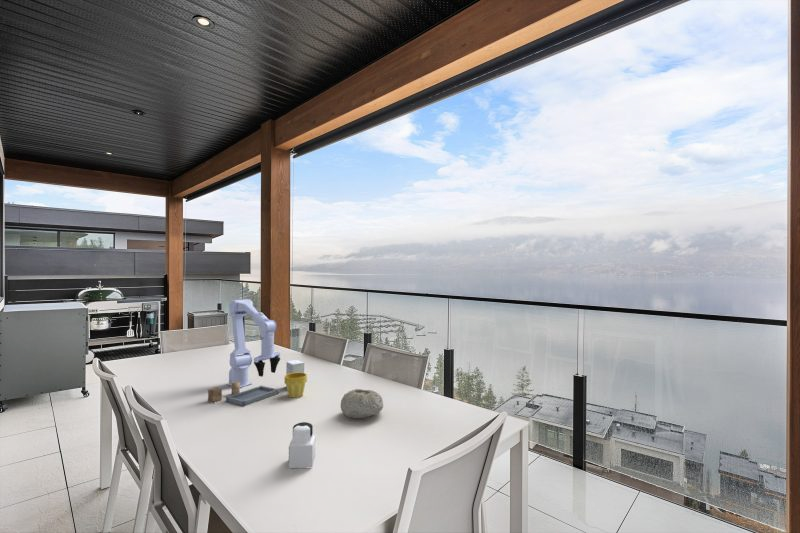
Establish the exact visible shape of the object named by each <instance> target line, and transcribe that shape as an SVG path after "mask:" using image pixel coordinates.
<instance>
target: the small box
mask: <svg viewBox="0 0 800 533" xmlns="http://www.w3.org/2000/svg"><path fill="white" fill-rule="evenodd" d="M285 371H286V373H285V375H287V374H290V373H298V372H300V373H305V362H304V361H301V360H299V359H294V360H293V359H292V360H286V370H285ZM285 387H286V388H287V386H286V385H285Z"/></svg>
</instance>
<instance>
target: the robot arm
mask: <svg viewBox="0 0 800 533" xmlns="http://www.w3.org/2000/svg"><path fill="white" fill-rule="evenodd" d="M228 309H229V310H228V311H229V316H230V317H231V323H232V324H231V325H232V332H233V343H234V350H232V352H231V353H230V354H229V366H230V369H229V371H228V383H227V384H226V385H227V386H231V387H232V382H240V388H242V387H243V388H244V387H246V386H249V385H252V384H253V382H250V381H249V368H250V367H251V365H252V364H253V365H254V366H255V368H256V370H257V374H258V377H261V378H262V377H264V370H265V365H266V362H265V361H266V360H267V361H268V360H269V362H270V372H271V373H273V374H274V373H276V370H277V367H278V365H279V362H280V360H281V352H275V350H274V349H275V348H274V347H275V332H277V330H278V329H277V328H278V326H277V322H276V321H275V320H273V319H269V318H268V317H267V316H266V315H265V314H264V313H263V312H258V310H257V309H256V307H254V302H253V301H252V300H251V299H250V298H246V299H232V300H230V303H229V305H228ZM247 314H248V315H249V316H250V317H252V322H253V324H255V325H256V326H257V327H258V330H259V334H260V335H259V336H260V339H261V342H260V343H261V344H260V346H261V347H260V348H261V349H260V350H261V351H260V353H261V354H260V355H258V356H256V357H253V356H252V353H251V350H249V349H248V348H247V347H246V346H247V345H246V338H245V330H244V329H245V328H244V320H243V318H244V316H247ZM252 362H253V363H252Z"/></svg>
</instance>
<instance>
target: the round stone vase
mask: <svg viewBox="0 0 800 533" xmlns="http://www.w3.org/2000/svg"><path fill="white" fill-rule="evenodd" d="M383 408H384V399H383V397H382V396H381V394H379V393H378V392H376V391H374V390H372V389H360V388H355V389H352V390H350V391H348V392H346V393H344V395H343V396H342V398H341V401H340V410H341V412H342V414H343V415H345V416H347V417H350V418H354V419H362V418H363V419H365V418H367V417H371V416H375V415H377V414H379V413H380V412H381V411H383Z"/></svg>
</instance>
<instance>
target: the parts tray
mask: <svg viewBox="0 0 800 533" xmlns="http://www.w3.org/2000/svg"><path fill="white" fill-rule="evenodd" d="M279 393H280V389H279V388H274V387H269V386H264V385H259V386H256V387H252V388H249V389H246V390H243V391H240V393H237V394H234V395H229V396H226V397H225V402H227V403H230V404H233V403H234V405H237V404H238V405H237V406H241V405H242V406H241V407H247V406H249V405H252V404H255V403H257V402H260V401H262V400H265V399H267V398H271V397H274V396H276V395H279ZM254 402H255V403H254ZM246 405H247V406H246Z"/></svg>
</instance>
